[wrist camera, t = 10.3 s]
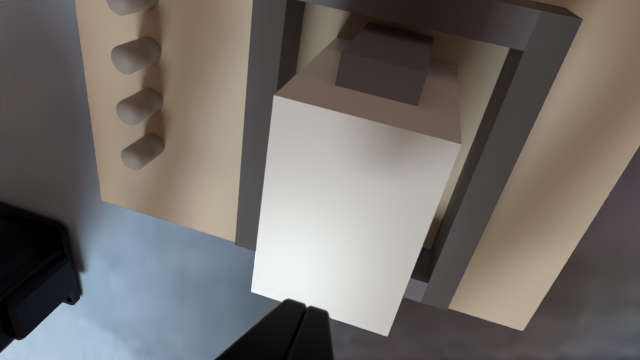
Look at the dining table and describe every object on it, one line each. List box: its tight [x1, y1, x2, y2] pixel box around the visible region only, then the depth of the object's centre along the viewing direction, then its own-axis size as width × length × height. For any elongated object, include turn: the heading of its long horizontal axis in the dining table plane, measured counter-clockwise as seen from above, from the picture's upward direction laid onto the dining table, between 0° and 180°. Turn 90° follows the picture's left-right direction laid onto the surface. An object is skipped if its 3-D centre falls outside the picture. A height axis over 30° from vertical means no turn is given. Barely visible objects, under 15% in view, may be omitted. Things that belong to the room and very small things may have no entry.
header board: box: [75, 0, 640, 331], centre depth 16 cm, size 20×14×4 cm
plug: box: [251, 22, 462, 336], centre depth 13 cm, size 4×7×6 cm, turn 170°
